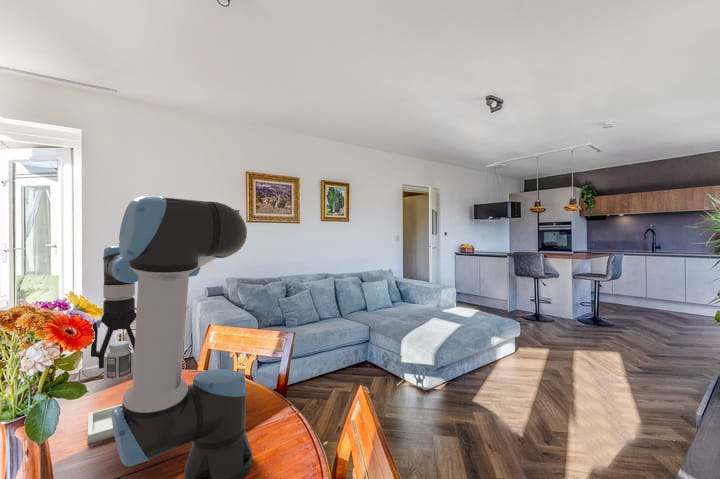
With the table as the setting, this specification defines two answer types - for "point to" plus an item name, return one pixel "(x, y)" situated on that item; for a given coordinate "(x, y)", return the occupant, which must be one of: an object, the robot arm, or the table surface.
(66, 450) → the table surface
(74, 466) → the table surface
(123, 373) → the pill bottle
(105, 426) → the tray
